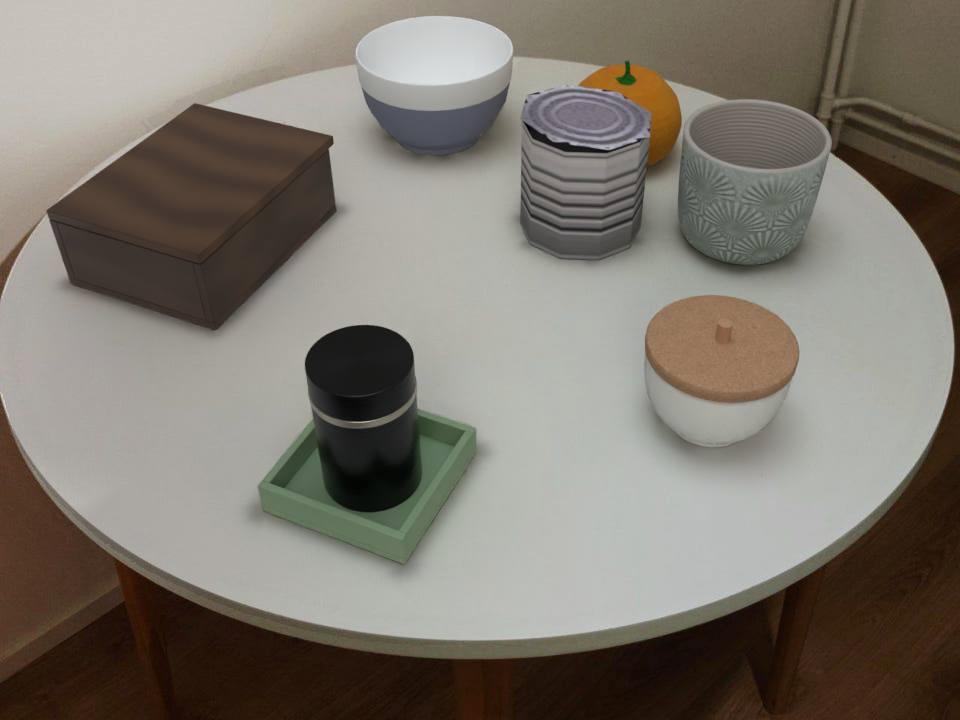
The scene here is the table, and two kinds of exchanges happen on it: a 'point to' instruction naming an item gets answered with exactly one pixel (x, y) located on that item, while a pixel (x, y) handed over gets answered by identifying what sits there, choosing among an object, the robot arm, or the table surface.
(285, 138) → the lid
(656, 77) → the fruit
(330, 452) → the black canister
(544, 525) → the table surface
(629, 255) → the table surface
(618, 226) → the can
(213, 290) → the chest
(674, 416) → the trinket box
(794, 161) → the planter
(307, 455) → the tray
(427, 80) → the bowl
